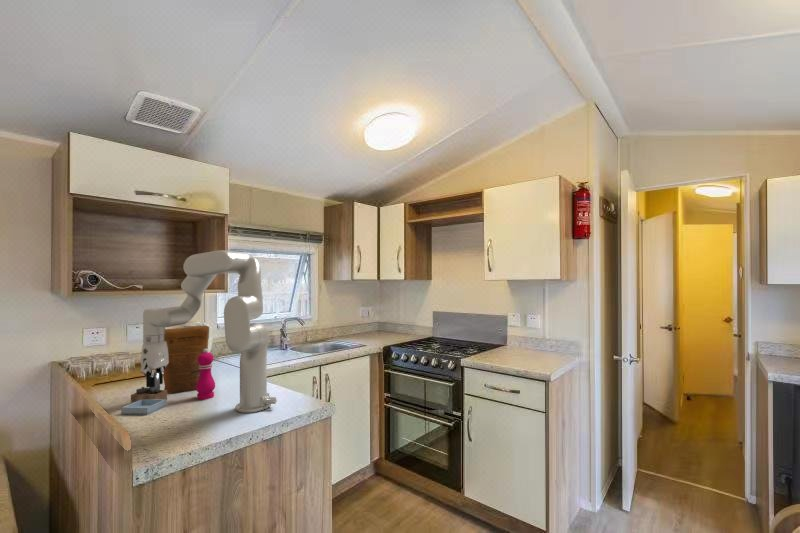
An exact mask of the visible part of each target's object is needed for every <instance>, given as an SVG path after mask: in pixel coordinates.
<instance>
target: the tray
mask: <svg viewBox="0 0 800 533" xmlns="http://www.w3.org/2000/svg"><path fill="white" fill-rule="evenodd" d="M167 401H168V398H167V399H141V400H139V401H136V402H134V403H131V402H130V404H127V405H124V406H122V407H121V415H125V416H126V415H127V414H128V415H132V414H133V415H132V416H135V415H136V416H139V415H140V416H147V415H150V414H153V413H155V412H157V411H159V410H161V409H164V408H165V407H167ZM128 415H127V416H128Z"/></svg>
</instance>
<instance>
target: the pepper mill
mask: <svg viewBox="0 0 800 533" xmlns="http://www.w3.org/2000/svg"><path fill="white" fill-rule="evenodd" d="M203 352H204V353H201V354H200V355H199V356H198V359H197V361H198V363H199V364H200V365H199V369H200V376H199V379H198V381H197V384H196V390H195V391H196V392H197V394H196V399H197V400H209V399H212V398H214V397H215V392H214V390H215V388H216V382H215V380H214V378H213V375H212V368H213V362H214V360H215V359H214V358H215V357H214V355H213V353H211V352H209V349H204V350H203Z"/></svg>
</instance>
